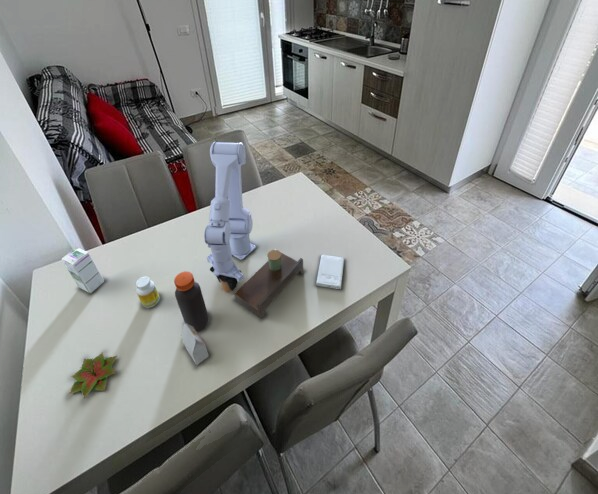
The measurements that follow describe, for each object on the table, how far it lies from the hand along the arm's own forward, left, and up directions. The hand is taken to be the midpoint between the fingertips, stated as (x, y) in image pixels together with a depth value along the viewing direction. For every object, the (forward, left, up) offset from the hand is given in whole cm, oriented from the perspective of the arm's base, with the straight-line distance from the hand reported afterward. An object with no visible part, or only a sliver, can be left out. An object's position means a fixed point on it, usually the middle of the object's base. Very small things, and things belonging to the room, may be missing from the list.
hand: (228, 284), depth 109 cm
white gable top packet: (+8, -20, -2) cm, 22 cm away
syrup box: (-39, -26, -2) cm, 47 cm away
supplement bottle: (-17, -18, -2) cm, 25 cm away
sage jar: (+8, +14, +2) cm, 16 cm away
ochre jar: (0, 0, -1) cm, 1 cm away
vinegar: (+1, -14, -2) cm, 14 cm away
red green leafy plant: (-9, -40, -2) cm, 41 cm away
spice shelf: (+10, +9, -2) cm, 14 cm away
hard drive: (+24, +25, -2) cm, 35 cm away
